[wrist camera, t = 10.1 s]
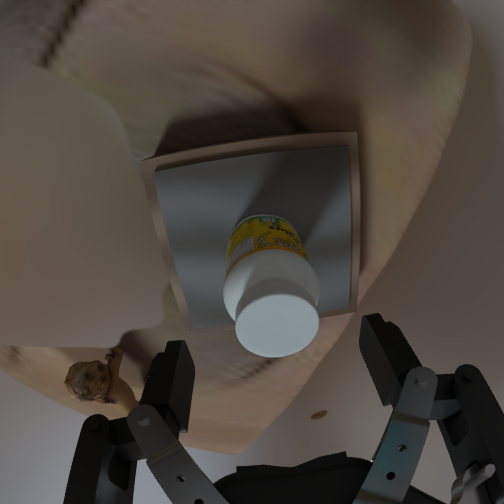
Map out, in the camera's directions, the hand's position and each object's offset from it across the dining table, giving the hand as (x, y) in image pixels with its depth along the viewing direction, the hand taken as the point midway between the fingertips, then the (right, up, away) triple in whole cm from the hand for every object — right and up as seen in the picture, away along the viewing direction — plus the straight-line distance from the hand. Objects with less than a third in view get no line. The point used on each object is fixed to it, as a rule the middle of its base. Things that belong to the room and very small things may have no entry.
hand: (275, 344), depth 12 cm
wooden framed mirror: (0, +6, +13) cm, 15 cm away
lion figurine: (-18, -11, +21) cm, 30 cm away
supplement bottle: (0, +5, +10) cm, 11 cm away
